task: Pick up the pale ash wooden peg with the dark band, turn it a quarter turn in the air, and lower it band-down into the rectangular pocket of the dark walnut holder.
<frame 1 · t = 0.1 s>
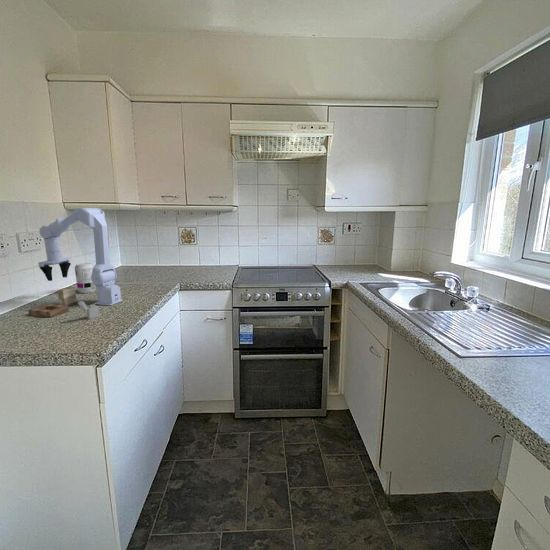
hand: (57, 278, 150), 10 cm above the worktop, tool pointing down, fingers open, 7 cm apart
holder: (49, 313, 131), on the worktop
supplement can: (87, 292, 166), on the worktop
peg: (68, 305, 142), on the worktop
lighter: (90, 318, 125), on the worktop
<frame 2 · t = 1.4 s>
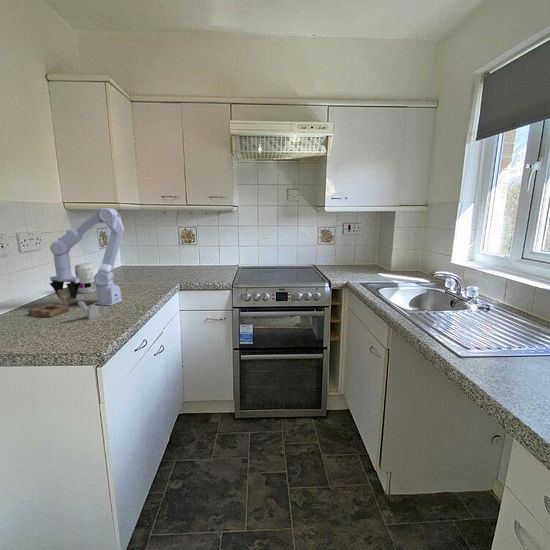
hand: (67, 297, 141), 4 cm above the worktop, tool pointing down, fingers open, 7 cm apart
nothing on the worktop moved.
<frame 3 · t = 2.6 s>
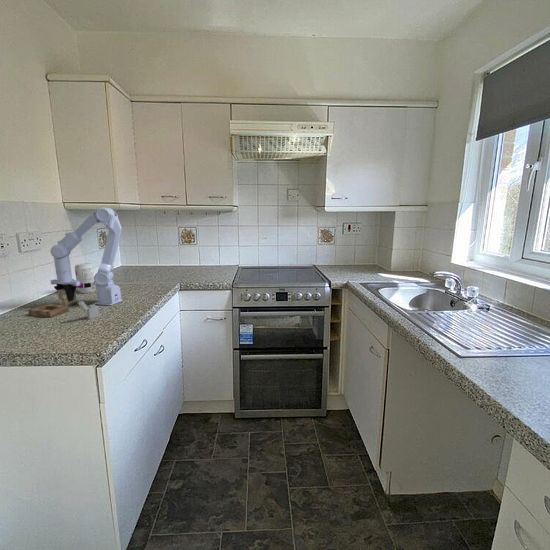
hand: (67, 300, 141), 2 cm above the worktop, tool pointing down, fingers closed on peg, 3 cm apart
peg: (68, 305, 142), on the worktop, touching gripper
everything else where it was.
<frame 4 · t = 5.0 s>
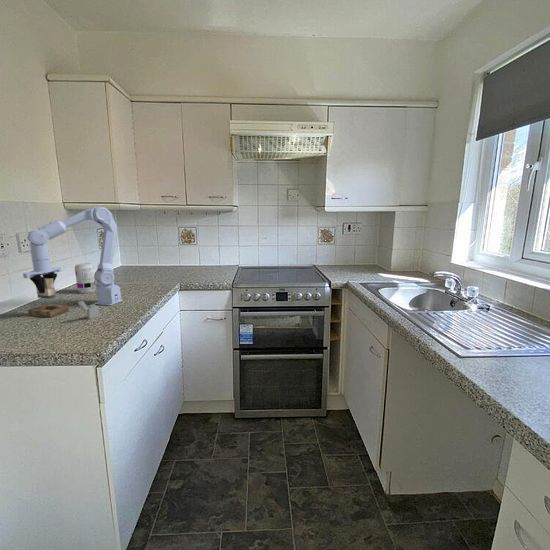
hand: (46, 291, 129), 9 cm above the worktop, tool pointing down, fingers closed on peg, 3 cm apart
peg: (46, 297, 129), point 7 cm above the worktop, touching gripper
everything else where it was.
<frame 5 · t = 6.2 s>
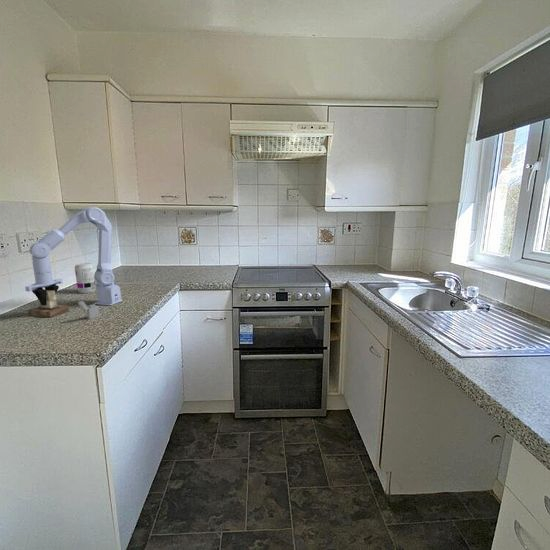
hand: (47, 303, 130), 4 cm above the worktop, tool pointing down, fingers closed on peg, 3 cm apart
peg: (48, 309, 130), point 2 cm above the worktop, touching gripper
everything else where it was.
when the fingers open (3 cm above the worktop, at t = 7.2 s): peg drops 1 cm, resting in holder.
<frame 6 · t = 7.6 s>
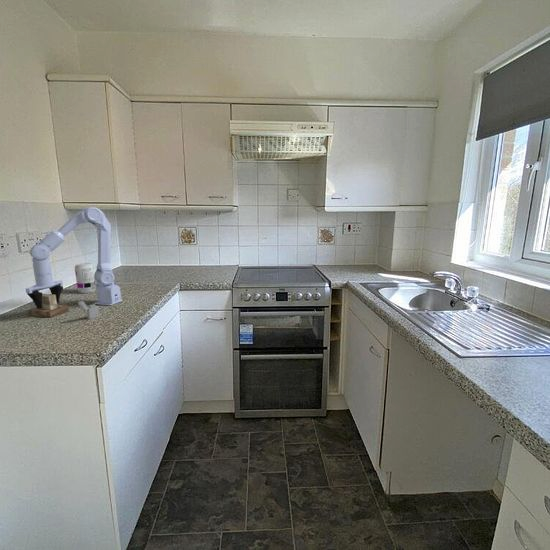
hand: (48, 305, 130), 3 cm above the worktop, tool pointing down, fingers open, 7 cm apart
peg: (49, 313, 131), resting in holder
everything else where it was.
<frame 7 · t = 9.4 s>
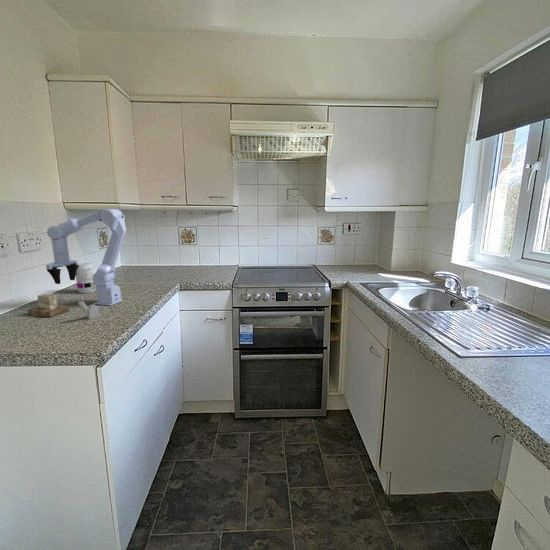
hand: (65, 281, 143), 10 cm above the worktop, tool pointing down, fingers open, 7 cm apart
nothing on the worktop moved.
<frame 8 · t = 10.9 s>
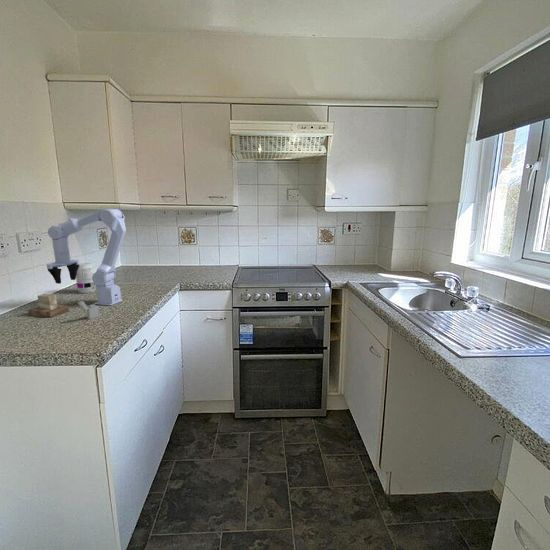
hand: (66, 281, 143), 10 cm above the worktop, tool pointing down, fingers open, 7 cm apart
nothing on the worktop moved.
at the end: peg 0.1 cm off-centre on the holder, point 0.0 cm above the holder's base; peg tilted 0°; the gripper is holding nothing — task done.
